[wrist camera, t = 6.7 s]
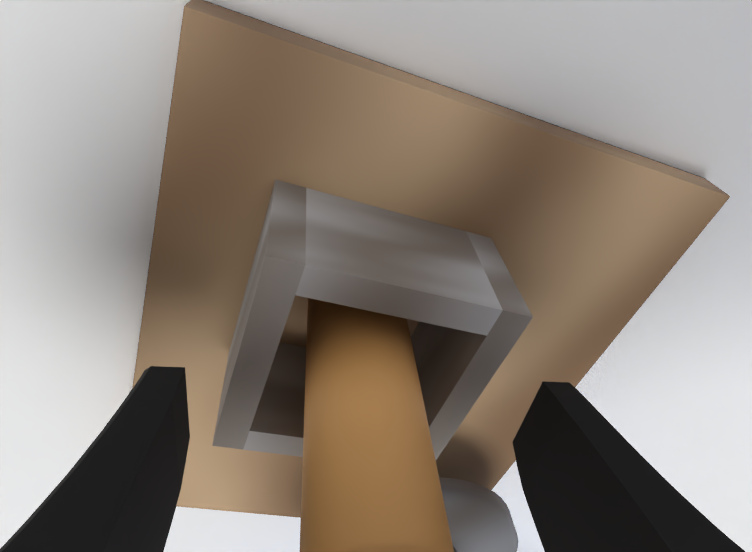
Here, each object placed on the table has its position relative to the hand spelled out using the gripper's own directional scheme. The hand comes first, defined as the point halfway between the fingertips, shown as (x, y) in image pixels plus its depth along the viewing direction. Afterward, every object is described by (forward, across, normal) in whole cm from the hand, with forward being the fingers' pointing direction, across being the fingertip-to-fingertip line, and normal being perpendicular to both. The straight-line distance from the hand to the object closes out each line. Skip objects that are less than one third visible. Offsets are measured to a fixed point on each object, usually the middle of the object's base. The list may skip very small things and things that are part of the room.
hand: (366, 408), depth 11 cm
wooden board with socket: (+5, -1, +3) cm, 5 cm away
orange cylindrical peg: (+4, 0, 0) cm, 4 cm away
